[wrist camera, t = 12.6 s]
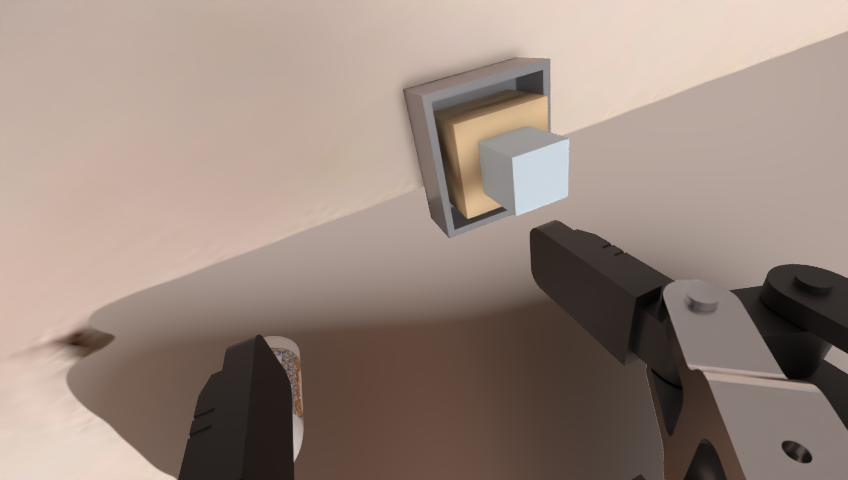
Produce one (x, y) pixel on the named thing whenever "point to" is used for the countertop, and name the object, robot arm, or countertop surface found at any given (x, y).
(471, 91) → the tote
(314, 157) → the countertop surface
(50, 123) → the countertop surface
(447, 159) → the oak block
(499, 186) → the light blue cube
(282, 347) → the bath foam
